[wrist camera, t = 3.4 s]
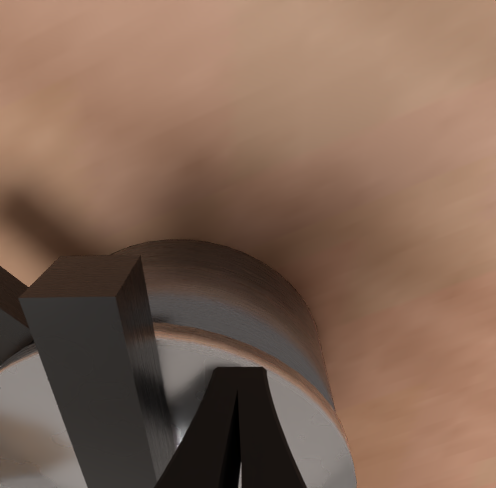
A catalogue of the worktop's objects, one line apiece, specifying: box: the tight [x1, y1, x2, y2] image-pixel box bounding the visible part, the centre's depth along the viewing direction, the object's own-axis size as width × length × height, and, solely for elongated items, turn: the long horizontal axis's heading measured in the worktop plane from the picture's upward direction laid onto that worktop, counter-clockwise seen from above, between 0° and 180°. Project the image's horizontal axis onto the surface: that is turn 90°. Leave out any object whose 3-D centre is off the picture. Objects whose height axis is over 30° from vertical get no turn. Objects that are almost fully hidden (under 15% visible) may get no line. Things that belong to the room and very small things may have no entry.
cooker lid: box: [0, 255, 357, 488], centre depth 13 cm, size 17×14×3 cm
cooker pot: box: [0, 240, 336, 413], centre depth 16 cm, size 19×14×6 cm
